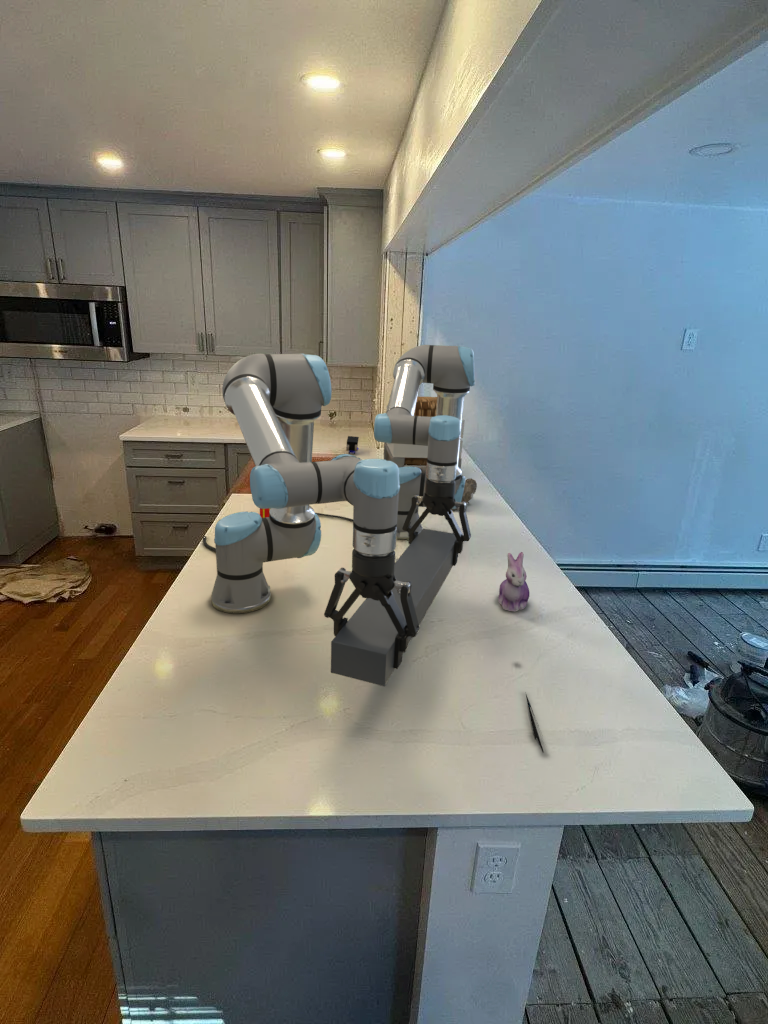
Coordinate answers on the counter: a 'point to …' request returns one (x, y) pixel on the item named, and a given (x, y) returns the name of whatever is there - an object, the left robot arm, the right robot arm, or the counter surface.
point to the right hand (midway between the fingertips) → (434, 559)
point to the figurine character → (352, 444)
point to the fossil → (468, 490)
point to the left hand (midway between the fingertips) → (369, 657)
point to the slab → (370, 629)
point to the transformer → (416, 453)
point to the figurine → (514, 585)
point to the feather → (534, 723)
